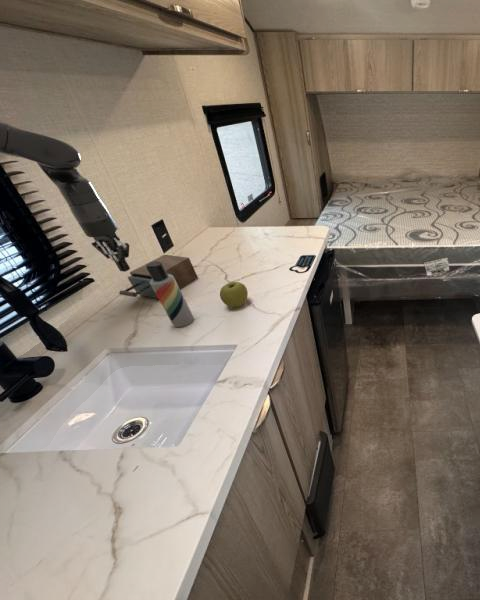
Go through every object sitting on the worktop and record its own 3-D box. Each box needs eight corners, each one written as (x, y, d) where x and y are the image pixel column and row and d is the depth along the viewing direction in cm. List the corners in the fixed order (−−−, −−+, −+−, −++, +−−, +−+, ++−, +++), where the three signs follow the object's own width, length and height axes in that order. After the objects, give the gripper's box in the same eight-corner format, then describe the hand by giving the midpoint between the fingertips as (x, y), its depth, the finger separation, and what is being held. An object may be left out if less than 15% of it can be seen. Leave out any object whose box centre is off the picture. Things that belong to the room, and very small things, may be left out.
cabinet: (167, 298, 110) (155, 276, 105) (142, 293, 113) (129, 272, 109) (198, 278, 121) (188, 257, 116) (174, 274, 124) (164, 254, 119)
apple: (255, 301, 106) (249, 283, 102) (233, 314, 101) (225, 295, 97) (242, 295, 110) (235, 276, 106) (220, 306, 104) (212, 287, 100)
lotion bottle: (170, 322, 98) (138, 264, 87) (190, 313, 102) (161, 256, 90) (177, 330, 95) (143, 270, 84) (197, 321, 98) (168, 262, 87)
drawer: (144, 308, 104) (134, 290, 100) (121, 303, 107) (110, 286, 103) (190, 279, 118) (182, 263, 115) (168, 276, 121) (160, 260, 117)
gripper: (63, 220, 91) (98, 273, 101) (96, 223, 88) (129, 278, 97) (91, 211, 97) (122, 262, 107) (123, 214, 93) (152, 266, 103)
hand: (125, 270), depth 102 cm, fingers closed
